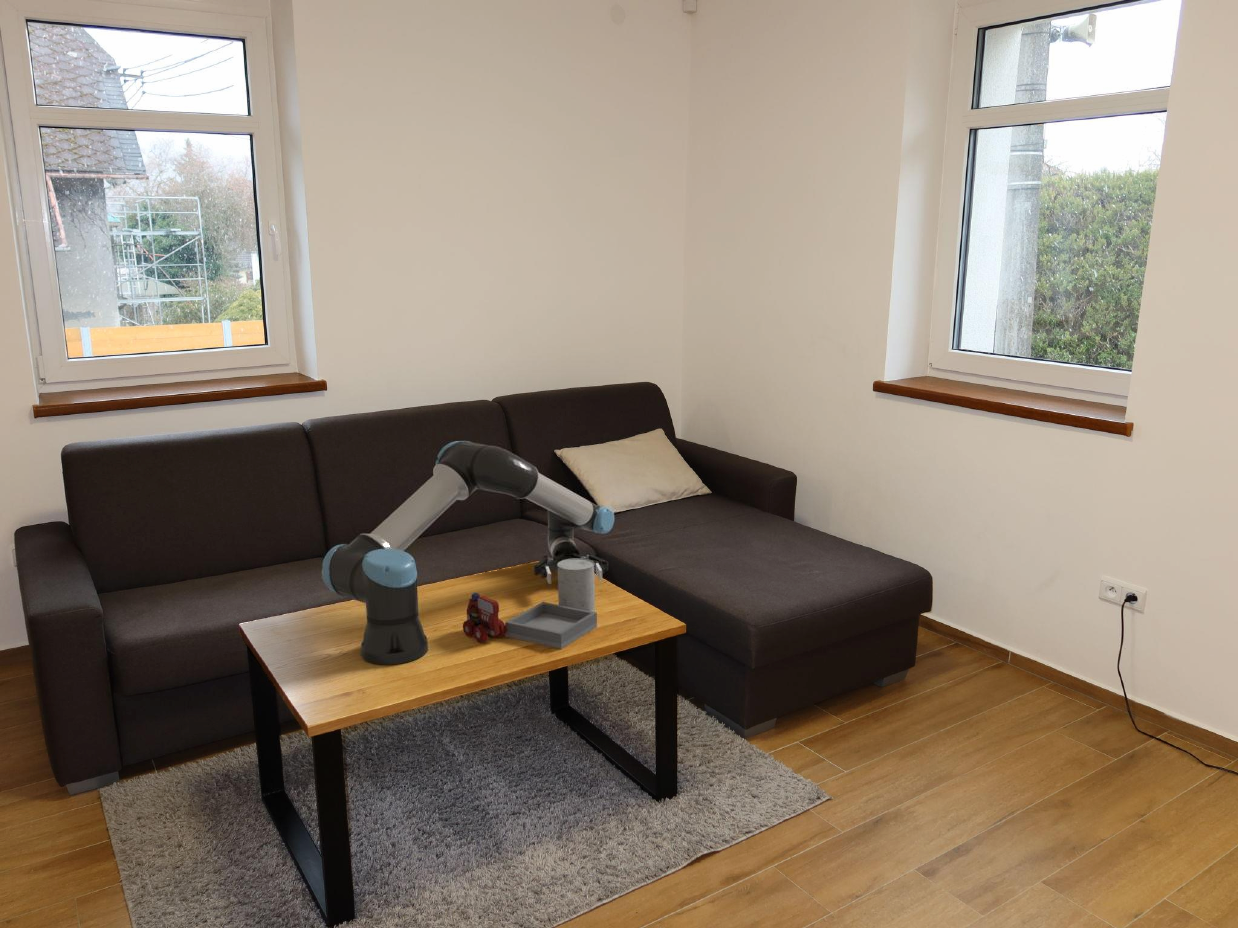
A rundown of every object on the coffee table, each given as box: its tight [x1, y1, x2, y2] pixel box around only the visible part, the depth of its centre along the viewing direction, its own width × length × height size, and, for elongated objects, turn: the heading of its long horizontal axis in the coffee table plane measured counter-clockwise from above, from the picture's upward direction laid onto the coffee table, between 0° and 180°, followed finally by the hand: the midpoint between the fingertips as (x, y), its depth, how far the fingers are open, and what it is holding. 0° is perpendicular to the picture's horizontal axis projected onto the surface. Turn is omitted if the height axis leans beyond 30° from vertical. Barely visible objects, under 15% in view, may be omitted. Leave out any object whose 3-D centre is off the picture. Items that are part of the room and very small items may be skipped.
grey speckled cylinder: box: [557, 558, 596, 612], centre depth 250 cm, size 10×10×12 cm
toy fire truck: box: [462, 592, 506, 644], centre depth 233 cm, size 7×12×10 cm, turn 40°
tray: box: [504, 601, 598, 650], centre depth 236 cm, size 16×16×4 cm
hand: (575, 576), depth 256 cm, fingers open, 13 cm apart
